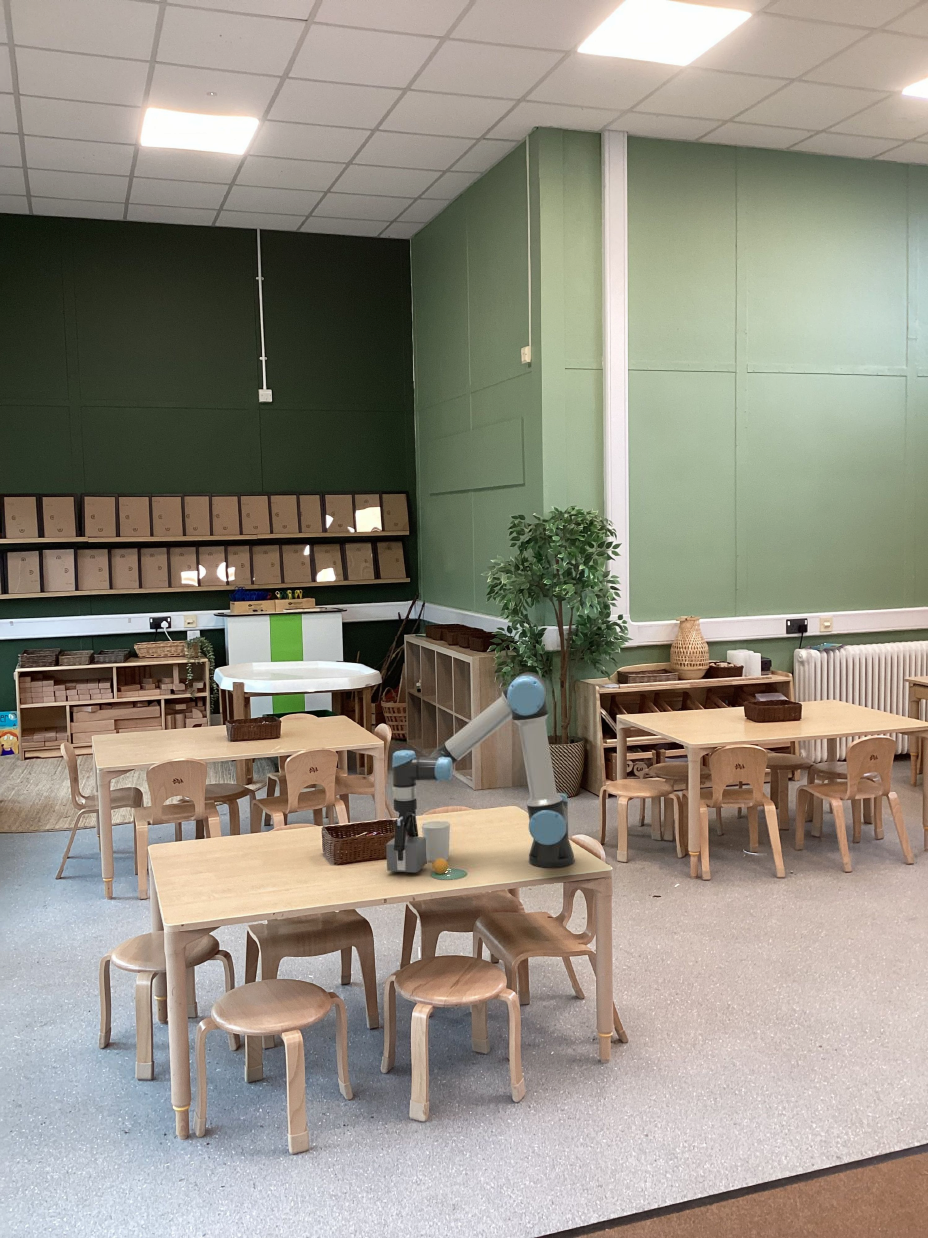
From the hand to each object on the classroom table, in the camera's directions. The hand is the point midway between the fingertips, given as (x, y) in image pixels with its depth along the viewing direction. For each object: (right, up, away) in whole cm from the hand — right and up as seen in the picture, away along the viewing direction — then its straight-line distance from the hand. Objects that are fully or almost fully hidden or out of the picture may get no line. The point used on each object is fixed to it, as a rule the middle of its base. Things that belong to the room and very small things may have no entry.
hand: (407, 865), depth 354 cm
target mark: (+14, -2, -4) cm, 14 cm away
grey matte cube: (0, -1, 0) cm, 1 cm away
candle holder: (+9, -1, +14) cm, 17 cm away
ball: (+11, 0, -3) cm, 11 cm away
